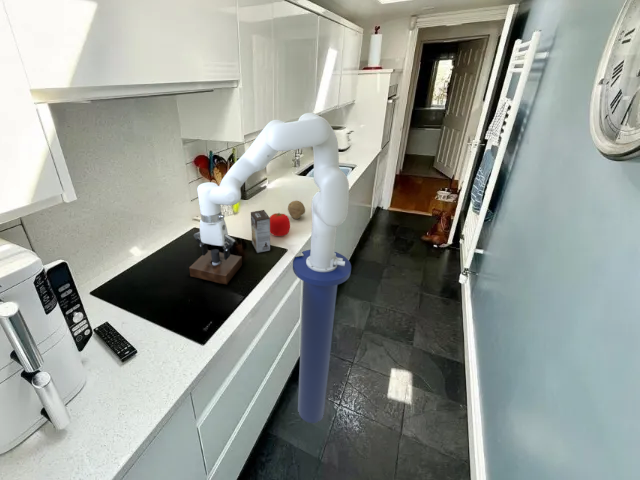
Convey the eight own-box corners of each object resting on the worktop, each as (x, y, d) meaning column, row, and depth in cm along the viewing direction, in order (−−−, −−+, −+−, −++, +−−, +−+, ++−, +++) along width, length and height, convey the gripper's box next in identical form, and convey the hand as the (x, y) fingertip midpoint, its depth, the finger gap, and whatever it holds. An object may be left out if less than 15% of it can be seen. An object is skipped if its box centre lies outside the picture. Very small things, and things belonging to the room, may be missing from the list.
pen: (222, 269, 124) (220, 249, 120) (218, 273, 121) (216, 253, 117) (215, 267, 125) (213, 248, 121) (211, 271, 123) (209, 252, 119)
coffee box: (251, 243, 142) (250, 211, 135) (264, 240, 143) (263, 209, 136) (257, 253, 134) (256, 220, 127) (271, 250, 136) (270, 217, 128)
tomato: (289, 240, 143) (289, 219, 138) (266, 238, 145) (266, 218, 140) (291, 230, 152) (291, 210, 148) (270, 228, 154) (269, 209, 150)
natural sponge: (297, 213, 170) (298, 196, 165) (308, 219, 163) (309, 201, 159) (284, 217, 165) (284, 200, 161) (295, 223, 159) (295, 205, 154)
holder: (242, 264, 126) (241, 256, 124) (226, 284, 115) (225, 275, 113) (208, 257, 132) (207, 249, 130) (190, 276, 120) (189, 267, 119)
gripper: (236, 215, 113) (240, 254, 120) (196, 209, 119) (202, 247, 126) (227, 223, 106) (231, 264, 114) (185, 217, 113) (192, 257, 120)
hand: (216, 255), depth 120 cm, fingers open, 9 cm apart
